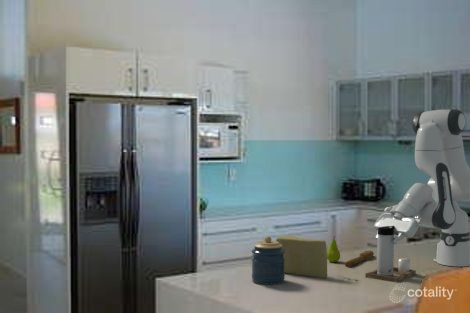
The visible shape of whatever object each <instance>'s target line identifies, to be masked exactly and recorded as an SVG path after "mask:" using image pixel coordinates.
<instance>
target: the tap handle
mask: <svg viewBox="0 0 470 313" xmlns="http://www.w3.org/2000/svg"><path fill="white" fill-rule="evenodd" d="M374 255H375V254H374V251H373V250H365V251H363V252H360V254H359V256H357V257H355V258H351V259H350V260H347V261H346V262H345V264H344V266H345V267H346V268H347V269H348V268H353V267H354V266H357V265H358V264H359V263H361V262H364V261H365V262H366V261H369V260H370V259H372V258H373V256H374Z"/></svg>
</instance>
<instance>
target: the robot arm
mask: <svg viewBox="0 0 470 313" xmlns="http://www.w3.org/2000/svg"><path fill="white" fill-rule="evenodd" d="M411 127H412V130H413V132H414V134H415V135H416V137H415V142H414V143H415V144H414V162H415V166H416V167H417V169H419V171H420V172H422V173H425V174H426V175H427V176H429V177H430V178H429V179H428V181H427V183H424V182H415V183H414V184H412V186H410V187H409V189H408V190H407V191H406V192H405V194H404V195H403V199H402V200H400V201H399V202H398V204H395V205H392V206H389V207H388V206H387V207H386V208H384V210H383V212H382V213H381V214H380V216H379V217H378V218H377V219H376V221H375V222H374V224H373V225H374V226H373V227H374V228H375V230H376V231H377V234H376V235H375V238H374V239H375V240H376V241H377V238H378V228H379V227H384V226H395V228H393V230H394V232H393V233H394V236H395V237H394V238H393V240H392V241H391V242H392V243H393V244H394V245H397V244H398V243H399V242H400V241H402V240H403V239H404V238H408V239H412V238H413V237H414V236H415V235H416V233H417V231H418V230H419V227H420V226H423V227H428V228H436V229H441V231H440V235H439V236H440V241H439V242H437V246H436V258H435V257H434V258H433V262H435V263H438V265H443V266H449V267H470V231H469V216H468V213H467V212H466V211H465V210H463V209H462V208H460V207H459V204H458V203H457V202H467V203H468V202H469V203H470V167H469V165H468V163H467V160H466V154H465V148H464V147H465V146H464V141H463V136H462V132H464V130H465V128H466V116H465V114H464V112H463V111H461V110H460V109H454V108H452V109H435V110H428V111H424V110H423V111H419V112H417V113H415V114H414V116H413V117H412V120H411ZM390 228H392V227H390Z"/></svg>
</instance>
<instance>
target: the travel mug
mask: <svg viewBox="0 0 470 313" xmlns="http://www.w3.org/2000/svg"><path fill="white" fill-rule="evenodd" d="M390 227H392V228H390ZM393 228H395V226H384V227H379V228H378V231H377V232H378V238H377V240H376V241H377V242H376V243H377V245H376V248H377V250H376V251H377V254H376V257H377V258H376V259H377V260H376V264H377V266H376V267H377V268H376V269H377V275H383V276H389V277H393V267H394V255H395V254H394V251H395V250H394V248H395V246H394V245H395V244H393V243H392V242H391V241H392V240H393V238H395V235H394V233H393V232H394V230H393Z"/></svg>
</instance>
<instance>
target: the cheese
mask: <svg viewBox="0 0 470 313" xmlns="http://www.w3.org/2000/svg"><path fill="white" fill-rule="evenodd" d="M275 241H278V242H279V243H280V244H282V245H283V246H282V247H281V248H282V249H283V250H284V251H285V253H284V254H283V257H284V259H285V261H284V274H292V275H300V276H305V277H312V278H319V279H326V278H328V259H327V251H328V249H327V241H326V240H323V239H317V238H316V239H314V238H305V237H299V236H294V235H289V234H288V235H283V236H282V235H281V236H278V237H276V240H275Z"/></svg>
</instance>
